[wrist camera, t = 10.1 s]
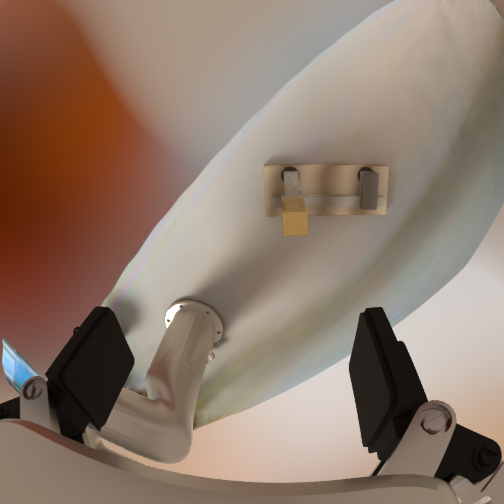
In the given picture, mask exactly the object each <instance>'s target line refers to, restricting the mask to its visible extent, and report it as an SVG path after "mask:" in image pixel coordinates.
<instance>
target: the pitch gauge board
mask: <svg viewBox="0 0 504 504" xmlns="http://www.w3.org/2000/svg"><path fill="white" fill-rule="evenodd" d="M284 171H298V182H299V190H301V191H302V193H303V199H304V202H305V205H306V208H307V211H308V215H386V208H387V195H388V178H389V167H387V166H382V165H357V164H288V165H264V166H263V173H264V189H265V205H266V217H271V216H282V200H281V191H285V190H284Z"/></svg>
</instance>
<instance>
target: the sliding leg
mask: <svg viewBox="0 0 504 504" xmlns="http://www.w3.org/2000/svg"><path fill="white" fill-rule="evenodd" d="M284 190H285V191H281V200H282V223H283V236H299V235H308V211H307V208H306V205H305V202H304V199H303V193H302V191H301V190H299V182H298V171H284Z"/></svg>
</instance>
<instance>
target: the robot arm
mask: <svg viewBox="0 0 504 504" xmlns="http://www.w3.org/2000/svg"><path fill="white" fill-rule="evenodd" d="M165 322H166V326H167V330H166V332H165V334H164V336H163V338H162V341H161V343H160V345H159V347H158V349H157V351H156V353H155V356H154V358H153V360H152V362H151V364H150V367H149V369H148V371H147V374H146V378H145V385H146V390H147V394H148V397H149V398H147V397H144V396H141V395H139V394H137V393H135V392H133V391H131V390H129V389H126V388H124V387H123V386H124V384H125V382H126V380H127V378H128V376H129V374H130V372H131V370H132V368H133V366H134V356H133V354H132V352H131V350H130V348H129V346H128V344H127V341H126V339H125V337H124V335H123V332H122V330H121V328H120V325H119V323H118V321H117V318H116V316H115V314H114V312H113V311H112V310H111V309H110V308H108V307H99V306H98V307H95V308H94V309H93V310H92V312H91V313H90V314H89V316H88V317H87V318H86V319H85V321H84V322H83V323H82V324H81V326H80V327H79V328H78V329H77V331H76V332H75V333H74V335H73V336H72V337H71V339H70V340H69V341H68V343H67V344H66V345H65V347H64V348H63V349H62V351H61V352H60V354H59V355H58V356H57V358H56V359H55V360H54V362H53V363H52V365H51V366H50V368H49V369H48V371H47V372H46V373H45V375H46V376H47V378H48V381H47V382H46V380H45V379H44V378H43V377H41V376H34V377H31V378H29V379H28V380H27V381H25V383H24V384H23V385H22V387H21V390H20V396H19V397H17V398H14V399H12V400H9V401H7V402H4V403H1V404H0V504H459V501H458V499H457V496H458V497H459V498H460V499H461V500H462V502H461V504H504V461H503V460H501V458H502V454H501V449H500V447H499V445H498V444H497V443H496V442H495V441H494V440H492V439H490V438H487V437H485V436H483V435H480V434H478V433H476V432H474V431H472V430H469V429H467V428H465V427H463V426H461V425H459V424H457V423H456V414H455V412H454V410H453V409H452V408H451V407H450V406H449V405H448V404H446V403H445V402H442V401H438V400H432V401H428V400H427V397H426V394H425V392H424V389H423V386H422V384H421V381H420V379H419V376H418V374H417V371H416V369H415V367H414V364H413V362H412V359H411V357H410V355H409V352H408V350H407V348H406V346H405V344H404V342H402V341H397V339H396V337H395V334H394V332H393V330H392V327H391V325H390V323H389V321H388V319H387V316H386V314H385V312H384V310H383V308H382V307H374V308H366V309H365V312H363V313H360V316H359V322H358V327H357V331H356V336H355V341H354V345H353V349H352V354H351V358H350V362H349V373H350V378H351V383H352V388H353V393H354V397H355V403H356V408H357V413H358V420H359V425H360V431H361V438H362V443H363V446H364V447H368V452H369V453H374V452H377V455H378V459H379V460H380V462H379V463H378V465H377V466H376V467H375V469H374V470H373V472H372V473H371V474H370V476H369V477H361V478H351V479H342V480H332V481H320V482H300V483H299V482H298V483H261V482H242V481H230V480H220V479H213V478H205V477H198V476H192V475H187V474H180V473H176V472H171V471H167V470H162V469H157V468H154V467H150V466H146V465H144V464H142V463H139V462H137V461H135V460H132V459H130V458H128V457H125V456H123V455H121V454H119V453H116V452H114V451H112V450H110V449H108V448H106V447H105V446H104V445H103V443H102V441H101V438H103V439H105V440H107V441H109V442H111V443H114V444H116V445H118V446H120V447H123V448H125V449H126V450H128V451H131V452H133V453H135V454H138V455H140V456H143V457H145V458H148V459H150V460H153V461H157V462H161V463H167V464H169V463H171V464H172V463H178V462H180V461H182V460H183V459H184V458H185V457H186V456H187V455H188V453H189V451H190V448H191V444H192V437H193V419H194V411H195V406H196V401H197V397H198V393H199V389H200V386H201V382H202V378H203V374H204V371H205V367H206V364H207V363H208V357H209V358H210V359H214V358H215V355H214V353H213V352H212V348H213V344H215V343H217V342H218V341H219V340H220V338H221V336H222V333H223V323H222V320H221V318H220V316H219V315H218V314H217V313H216V312H215V311H214V310H213V309H212V308H210V307H209V306H207V305H205V304H203V303H201V302H197V301H192V300H183V301H179V302H176V303H174V304H173V305H171V307H170V308H169V309H168V311H167V313H166V316H165ZM456 495H457V496H456Z"/></svg>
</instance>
